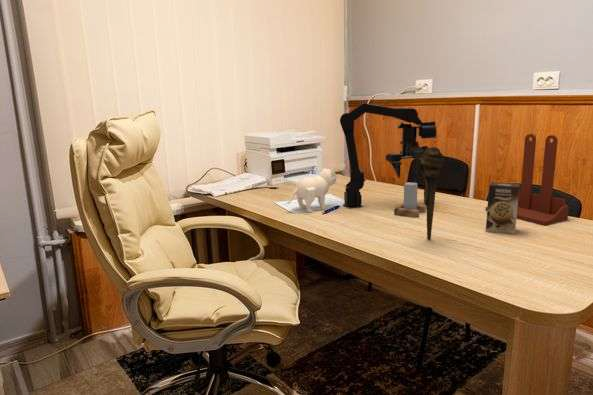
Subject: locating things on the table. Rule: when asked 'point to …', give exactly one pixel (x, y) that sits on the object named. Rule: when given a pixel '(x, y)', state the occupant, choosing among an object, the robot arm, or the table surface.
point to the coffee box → (502, 207)
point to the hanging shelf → (543, 205)
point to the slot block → (409, 211)
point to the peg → (410, 195)
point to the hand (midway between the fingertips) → (408, 176)
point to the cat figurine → (314, 189)
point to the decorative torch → (430, 181)
